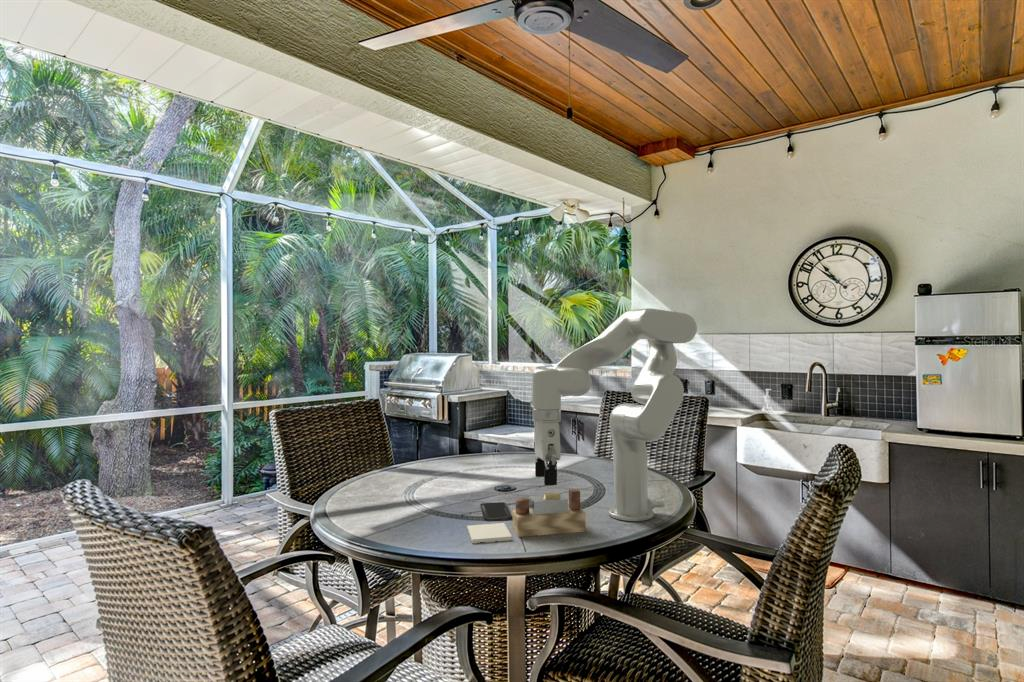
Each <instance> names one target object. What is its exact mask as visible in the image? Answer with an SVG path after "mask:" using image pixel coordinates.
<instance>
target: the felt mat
mask: <svg viewBox="0 0 1024 682" xmlns="http://www.w3.org/2000/svg"><path fill="white" fill-rule="evenodd" d="M466 530H468V531H467V532H468V533H469V534H468V533H467V534H468V535H470V536H469V539H470V538H471V539H470V541H472V542H471V543H473V544H481V543H480V542H485V543H496V542H495V541H498V542H506V541H509V540H510V541H513V536H512V534H511V533H510V531H509V529H508V527H507V525H506V524H505V523H504V522H499V523H498V522H496V523H485V524H474V525H466ZM510 541H509V542H510ZM478 542H479V543H478Z"/></svg>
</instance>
